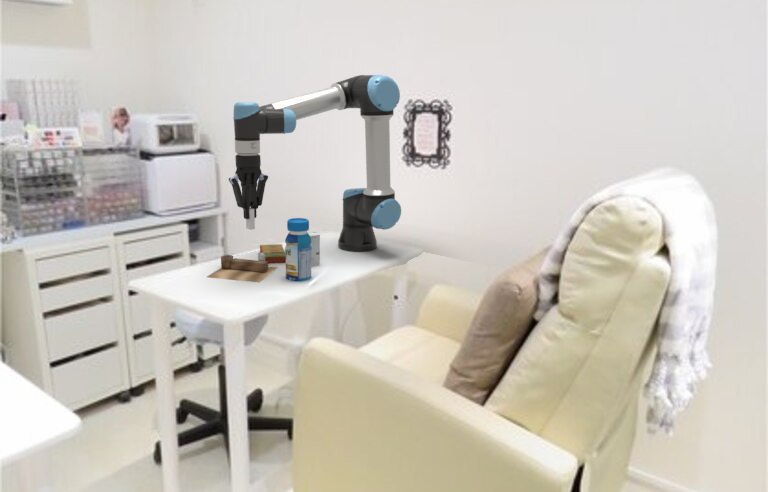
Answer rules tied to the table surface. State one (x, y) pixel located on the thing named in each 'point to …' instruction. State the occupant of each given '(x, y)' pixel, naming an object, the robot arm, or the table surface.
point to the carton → (273, 253)
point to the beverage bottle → (298, 250)
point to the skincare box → (315, 249)
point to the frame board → (241, 274)
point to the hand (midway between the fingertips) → (250, 228)
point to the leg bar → (243, 264)
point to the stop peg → (261, 257)
